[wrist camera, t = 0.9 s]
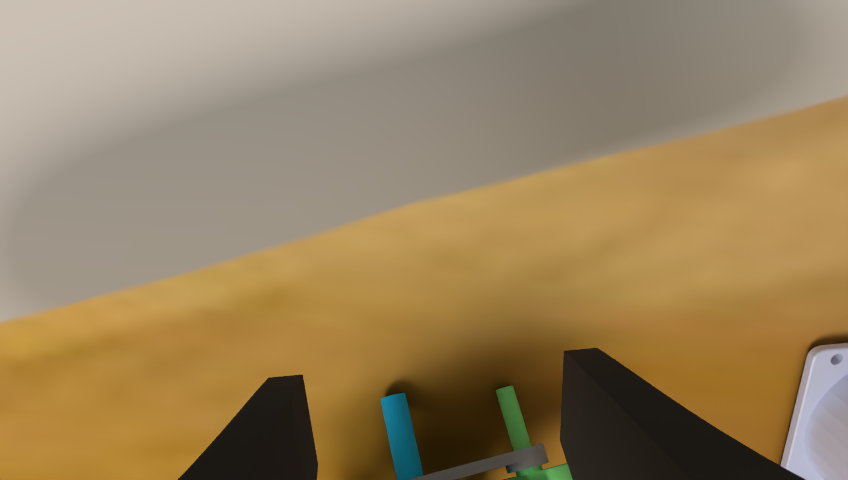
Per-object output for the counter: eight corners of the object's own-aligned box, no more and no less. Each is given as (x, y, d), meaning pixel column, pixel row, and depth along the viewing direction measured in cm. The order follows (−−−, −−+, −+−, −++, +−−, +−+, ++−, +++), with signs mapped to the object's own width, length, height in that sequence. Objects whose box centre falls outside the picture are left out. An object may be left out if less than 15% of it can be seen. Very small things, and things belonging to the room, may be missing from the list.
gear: (308, 580, 22) (251, 646, 13) (289, 437, 25) (230, 411, 16) (549, 510, 24) (643, 526, 15) (510, 382, 26) (571, 330, 17)
